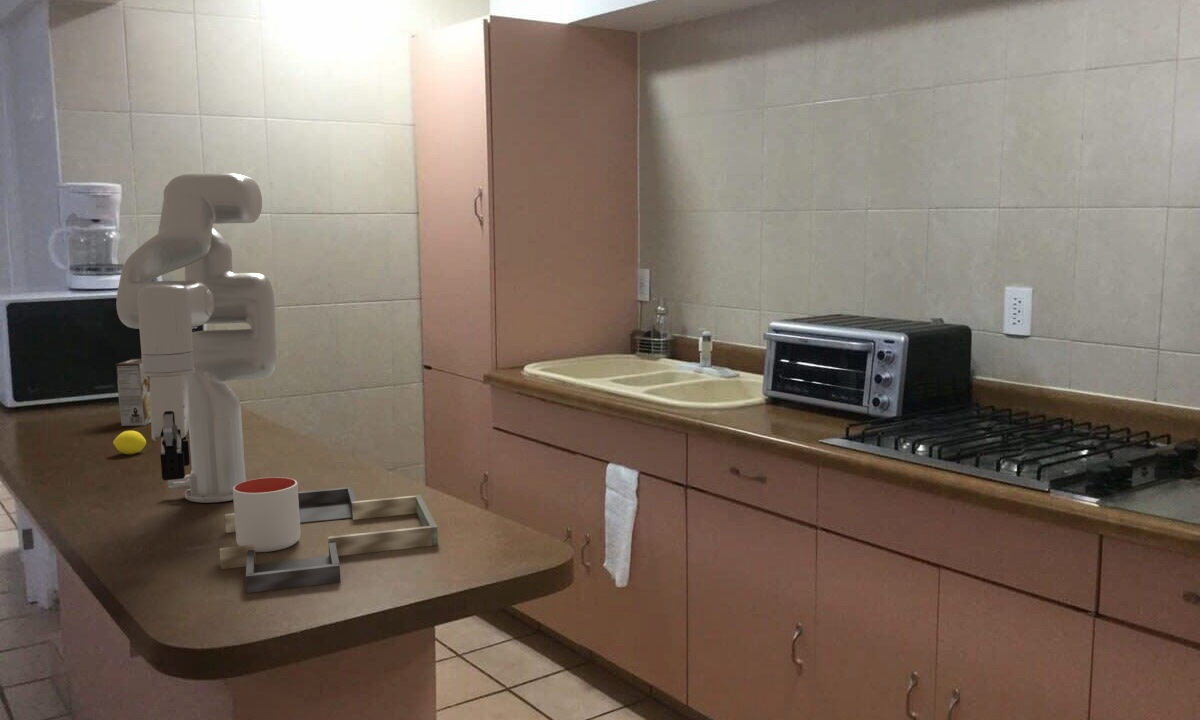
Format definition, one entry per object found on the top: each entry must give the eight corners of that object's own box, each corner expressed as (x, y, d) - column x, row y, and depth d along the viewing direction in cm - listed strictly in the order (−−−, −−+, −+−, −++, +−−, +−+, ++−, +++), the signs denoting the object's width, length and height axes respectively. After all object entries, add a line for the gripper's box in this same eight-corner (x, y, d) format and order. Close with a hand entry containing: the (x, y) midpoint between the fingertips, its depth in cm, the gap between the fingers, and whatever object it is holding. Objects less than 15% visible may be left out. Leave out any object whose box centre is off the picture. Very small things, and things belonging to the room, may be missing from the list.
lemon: (143, 452, 242) (145, 428, 242) (147, 456, 238) (149, 432, 237) (110, 452, 238) (111, 428, 238) (113, 456, 234) (115, 432, 233)
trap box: (217, 596, 149) (215, 576, 149) (229, 511, 191) (227, 495, 190) (449, 569, 159) (449, 549, 158) (412, 494, 200) (412, 478, 200)
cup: (242, 558, 165) (237, 496, 164) (232, 541, 174) (228, 482, 173) (307, 548, 170) (303, 487, 168) (294, 531, 179) (290, 474, 177)
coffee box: (136, 418, 278) (131, 358, 276) (160, 418, 278) (155, 358, 276) (120, 426, 269) (114, 363, 267) (145, 425, 269) (140, 363, 267)
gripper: (148, 359, 171) (156, 463, 173) (135, 372, 154) (144, 487, 156) (198, 356, 173) (205, 459, 175) (190, 369, 156) (198, 482, 159)
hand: (176, 472), depth 166 cm, fingers open, 9 cm apart
